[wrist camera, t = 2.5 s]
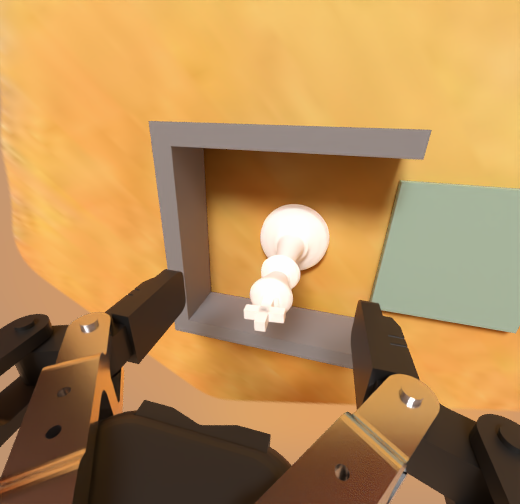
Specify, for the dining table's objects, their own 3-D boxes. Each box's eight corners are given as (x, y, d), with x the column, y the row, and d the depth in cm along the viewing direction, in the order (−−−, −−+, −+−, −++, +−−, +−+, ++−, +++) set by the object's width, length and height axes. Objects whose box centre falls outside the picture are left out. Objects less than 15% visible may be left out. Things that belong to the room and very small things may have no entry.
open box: (408, 131, 15) (431, 129, 11) (359, 331, 21) (364, 371, 17) (185, 123, 18) (148, 121, 14) (199, 300, 24) (175, 329, 20)
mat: (583, 193, 14) (593, 195, 13) (510, 327, 18) (515, 333, 17) (399, 180, 16) (402, 182, 15) (368, 303, 20) (369, 308, 19)
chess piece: (327, 269, 19) (322, 383, 11) (263, 265, 21) (210, 363, 12) (331, 203, 17) (327, 274, 9) (259, 203, 19) (192, 265, 10)
